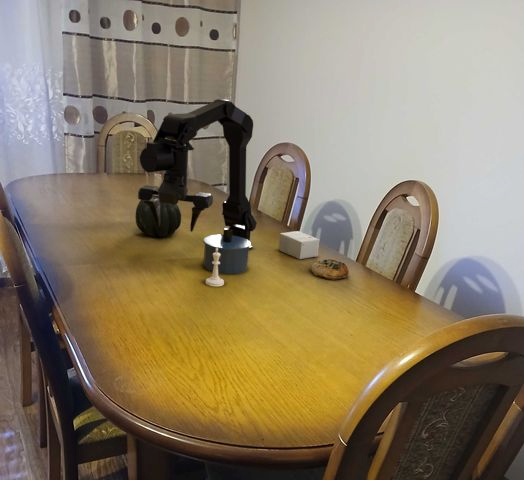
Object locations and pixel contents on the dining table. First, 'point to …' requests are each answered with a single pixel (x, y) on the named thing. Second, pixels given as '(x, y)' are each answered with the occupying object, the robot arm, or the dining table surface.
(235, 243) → the pot lid
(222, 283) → the chess piece
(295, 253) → the small box
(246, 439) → the dining table surface
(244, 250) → the pot
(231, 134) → the robot arm
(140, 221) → the squash
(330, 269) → the bread roll
